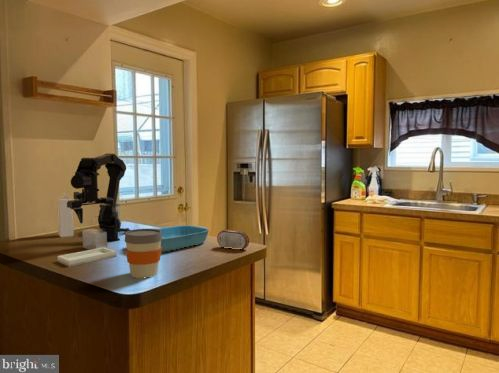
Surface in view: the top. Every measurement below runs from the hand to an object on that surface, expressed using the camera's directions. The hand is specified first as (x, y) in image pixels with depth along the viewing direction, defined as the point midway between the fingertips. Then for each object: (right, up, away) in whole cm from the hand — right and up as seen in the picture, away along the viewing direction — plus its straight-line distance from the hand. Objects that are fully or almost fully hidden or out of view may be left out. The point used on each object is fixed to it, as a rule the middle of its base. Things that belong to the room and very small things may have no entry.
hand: (91, 221), depth 167 cm
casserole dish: (+34, -12, +9) cm, 37 cm away
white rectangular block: (+1, -12, +1) cm, 12 cm away
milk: (-24, -10, +27) cm, 38 cm away
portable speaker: (+62, -13, +3) cm, 63 cm away
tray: (+5, -13, -15) cm, 21 cm away
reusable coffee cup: (+33, -15, -34) cm, 49 cm away
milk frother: (-2, -9, +36) cm, 38 cm away
